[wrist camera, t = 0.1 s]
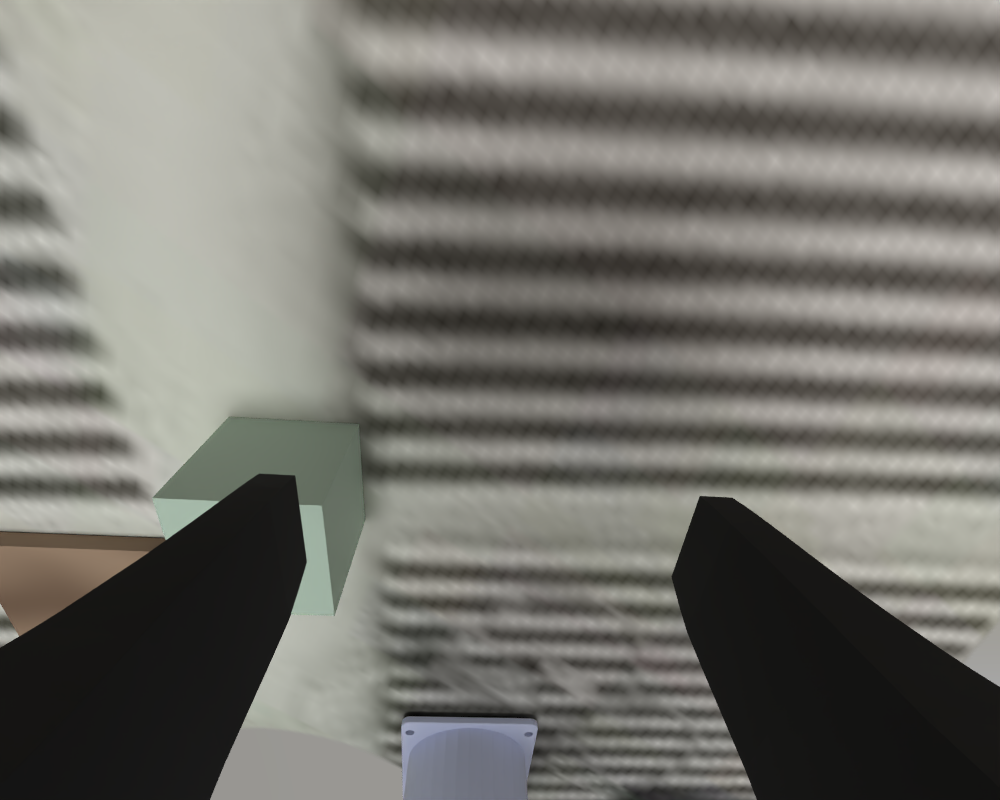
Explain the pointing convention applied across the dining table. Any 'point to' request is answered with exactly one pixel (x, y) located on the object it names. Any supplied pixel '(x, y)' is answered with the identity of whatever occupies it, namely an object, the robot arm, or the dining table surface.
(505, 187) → the dining table surface
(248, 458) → the green cube
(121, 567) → the walnut board
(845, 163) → the dining table surface
